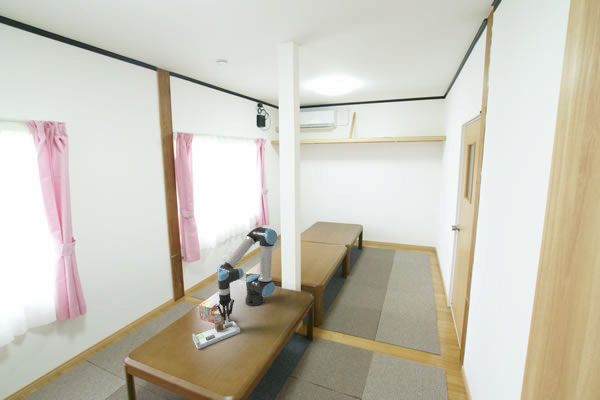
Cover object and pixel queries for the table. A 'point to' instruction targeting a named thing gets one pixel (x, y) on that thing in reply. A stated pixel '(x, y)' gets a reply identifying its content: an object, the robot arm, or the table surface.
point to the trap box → (215, 335)
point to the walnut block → (219, 326)
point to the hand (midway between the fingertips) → (226, 324)
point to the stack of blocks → (210, 312)
